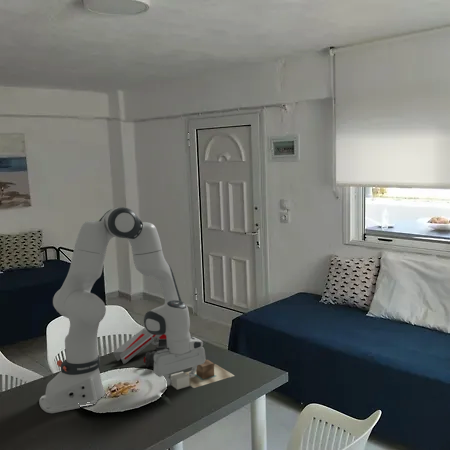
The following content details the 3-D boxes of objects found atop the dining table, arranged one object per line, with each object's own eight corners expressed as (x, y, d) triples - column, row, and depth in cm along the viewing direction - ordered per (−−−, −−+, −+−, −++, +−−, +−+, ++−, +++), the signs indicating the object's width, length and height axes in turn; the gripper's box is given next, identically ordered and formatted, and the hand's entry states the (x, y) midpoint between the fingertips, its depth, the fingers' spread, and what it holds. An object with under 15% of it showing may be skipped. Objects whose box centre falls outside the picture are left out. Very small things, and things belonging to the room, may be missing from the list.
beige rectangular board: (194, 390, 188) (193, 387, 188) (176, 377, 199) (176, 375, 199) (235, 378, 197) (234, 375, 197) (215, 366, 209) (215, 364, 209)
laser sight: (198, 370, 206) (197, 346, 205) (142, 372, 206) (141, 348, 205) (199, 360, 216) (199, 337, 215) (146, 362, 216) (145, 339, 215)
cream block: (177, 392, 187) (176, 379, 186) (171, 387, 191) (170, 374, 190) (189, 388, 190) (189, 375, 189) (183, 384, 194) (182, 371, 193)
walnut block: (203, 379, 195) (202, 366, 194) (196, 374, 199) (196, 362, 198) (214, 375, 198) (213, 363, 197) (207, 371, 202) (207, 359, 201)
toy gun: (124, 378, 222) (111, 350, 217) (171, 339, 238) (160, 312, 233) (133, 382, 217) (120, 354, 212) (180, 342, 233) (169, 315, 228)
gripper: (157, 354, 181) (159, 391, 183) (206, 341, 192) (208, 376, 194) (149, 349, 186) (151, 385, 188) (198, 336, 197) (199, 370, 199)
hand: (180, 380), depth 191 cm, fingers open, 8 cm apart
